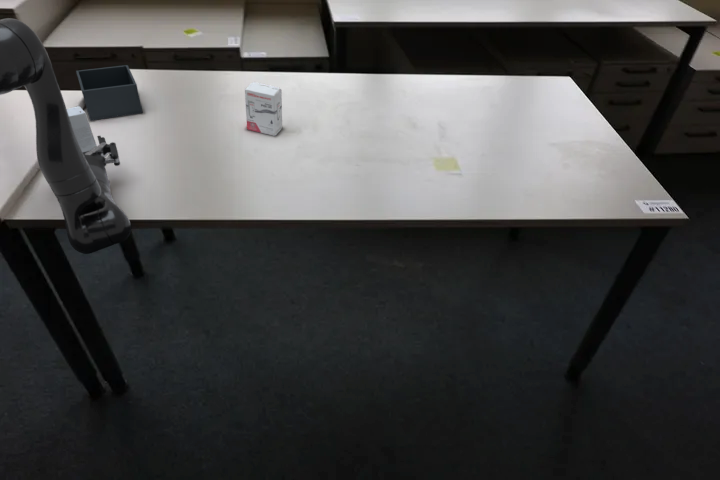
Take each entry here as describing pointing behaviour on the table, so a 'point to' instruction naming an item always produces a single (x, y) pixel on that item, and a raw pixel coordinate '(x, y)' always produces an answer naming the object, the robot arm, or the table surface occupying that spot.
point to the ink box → (263, 108)
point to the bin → (109, 92)
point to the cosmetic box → (81, 128)
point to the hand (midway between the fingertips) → (79, 142)
